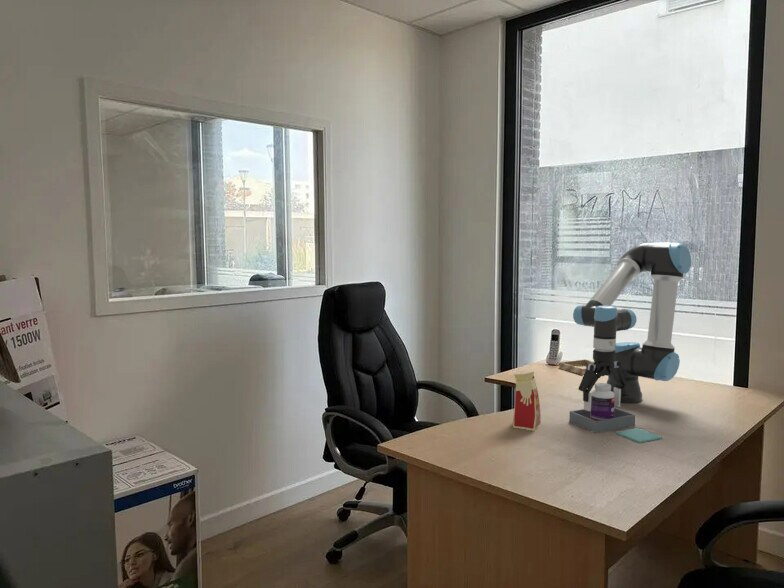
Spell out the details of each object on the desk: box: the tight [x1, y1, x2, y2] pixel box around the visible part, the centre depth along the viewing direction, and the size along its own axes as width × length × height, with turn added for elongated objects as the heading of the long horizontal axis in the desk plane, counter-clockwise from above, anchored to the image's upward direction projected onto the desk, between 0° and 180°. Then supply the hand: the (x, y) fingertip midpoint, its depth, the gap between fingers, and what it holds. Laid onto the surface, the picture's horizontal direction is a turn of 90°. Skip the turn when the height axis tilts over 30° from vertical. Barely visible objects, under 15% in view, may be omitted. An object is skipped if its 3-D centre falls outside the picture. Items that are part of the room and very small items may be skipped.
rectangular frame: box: [568, 406, 636, 434], centre depth 211 cm, size 13×18×4 cm
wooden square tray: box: [558, 358, 594, 376], centre depth 293 cm, size 17×17×3 cm
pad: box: [616, 427, 663, 444], centre depth 198 cm, size 10×10×1 cm
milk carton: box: [512, 371, 542, 432], centre depth 209 cm, size 9×9×20 cm
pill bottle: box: [590, 382, 615, 421], centre depth 210 cm, size 8×8×14 cm
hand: (602, 408), depth 210 cm, fingers open, 13 cm apart
